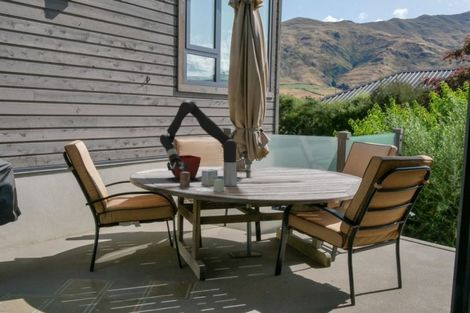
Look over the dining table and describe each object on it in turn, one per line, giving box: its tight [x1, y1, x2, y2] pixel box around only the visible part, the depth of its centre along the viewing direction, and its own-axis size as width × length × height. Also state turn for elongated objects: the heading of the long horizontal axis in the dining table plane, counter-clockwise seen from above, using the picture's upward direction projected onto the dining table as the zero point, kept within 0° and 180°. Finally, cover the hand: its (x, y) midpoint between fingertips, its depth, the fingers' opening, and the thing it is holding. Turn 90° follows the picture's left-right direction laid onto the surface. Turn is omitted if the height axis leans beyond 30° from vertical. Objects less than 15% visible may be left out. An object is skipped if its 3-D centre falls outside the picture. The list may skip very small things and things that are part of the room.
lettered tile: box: [195, 187, 212, 192], centre depth 291 cm, size 9×9×1 cm
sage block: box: [212, 178, 225, 193], centre depth 288 cm, size 5×5×8 cm
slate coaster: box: [176, 185, 194, 189], centre depth 301 cm, size 9×9×1 cm
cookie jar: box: [222, 159, 247, 172], centre depth 398 cm, size 25×25×32 cm
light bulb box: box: [201, 168, 219, 186], centre depth 314 cm, size 11×7×11 cm, turn 141°
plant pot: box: [170, 154, 202, 179], centre depth 342 cm, size 19×19×17 cm
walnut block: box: [179, 172, 191, 188], centre depth 301 cm, size 5×5×10 cm
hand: (180, 174), depth 306 cm, fingers open, 8 cm apart
